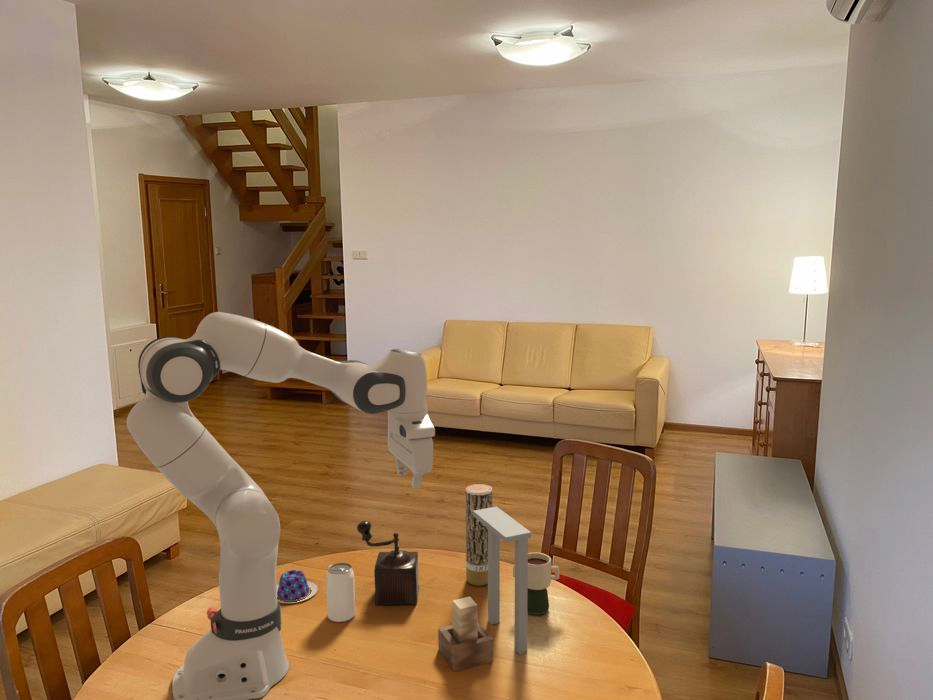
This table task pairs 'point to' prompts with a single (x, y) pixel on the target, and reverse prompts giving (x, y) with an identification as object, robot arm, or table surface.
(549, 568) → the character mug
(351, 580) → the can
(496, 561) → the u-shaped bar frame
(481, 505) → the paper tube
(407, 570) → the manual coffee grinder
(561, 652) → the table surface
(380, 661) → the table surface
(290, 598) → the pudding
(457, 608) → the peg
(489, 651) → the socket
